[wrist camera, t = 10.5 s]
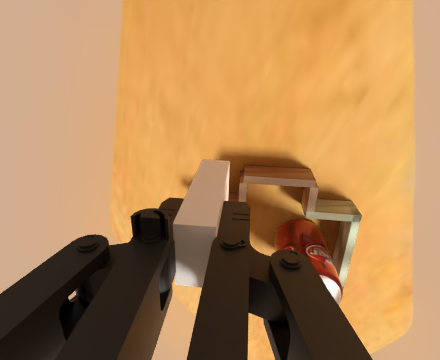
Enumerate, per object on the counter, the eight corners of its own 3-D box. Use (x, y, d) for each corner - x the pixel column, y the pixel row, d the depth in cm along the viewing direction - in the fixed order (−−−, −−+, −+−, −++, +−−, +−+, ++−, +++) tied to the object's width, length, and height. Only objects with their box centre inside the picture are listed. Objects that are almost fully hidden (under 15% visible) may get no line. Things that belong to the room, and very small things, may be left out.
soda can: (279, 260, 48) (287, 323, 37) (268, 222, 45) (273, 278, 34) (326, 252, 46) (348, 315, 35) (317, 212, 44) (339, 267, 33)
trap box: (205, 162, 42) (201, 173, 39) (359, 171, 41) (369, 183, 37) (204, 283, 51) (201, 301, 48) (330, 295, 49) (336, 314, 46)
